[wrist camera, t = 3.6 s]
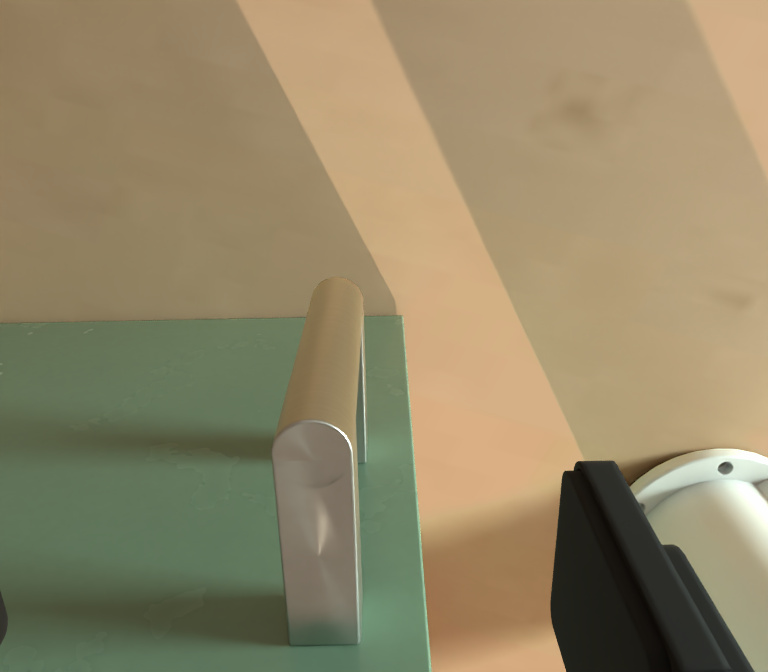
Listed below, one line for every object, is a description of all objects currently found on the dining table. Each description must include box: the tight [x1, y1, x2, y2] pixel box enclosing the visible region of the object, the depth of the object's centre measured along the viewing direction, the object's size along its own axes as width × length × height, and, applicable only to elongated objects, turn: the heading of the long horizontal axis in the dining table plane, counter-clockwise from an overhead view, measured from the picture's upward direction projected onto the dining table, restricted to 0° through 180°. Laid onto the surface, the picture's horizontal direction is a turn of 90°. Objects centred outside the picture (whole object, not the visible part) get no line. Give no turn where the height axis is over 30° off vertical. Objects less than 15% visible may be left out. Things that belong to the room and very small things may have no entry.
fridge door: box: [0, 277, 432, 672], centre depth 27 cm, size 7×24×24 cm, turn 91°
